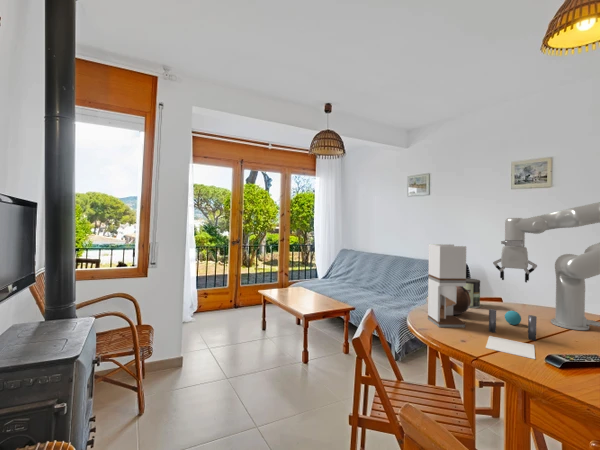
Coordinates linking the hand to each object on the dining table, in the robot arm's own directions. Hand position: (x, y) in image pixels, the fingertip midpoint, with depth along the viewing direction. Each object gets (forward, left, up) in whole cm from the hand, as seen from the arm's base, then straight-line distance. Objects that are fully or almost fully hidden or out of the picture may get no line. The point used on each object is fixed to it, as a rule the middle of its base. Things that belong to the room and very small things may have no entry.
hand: (514, 280), depth 139 cm
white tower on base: (+24, +27, -18) cm, 40 cm away
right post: (-6, +26, -18) cm, 32 cm away
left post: (+7, +26, -18) cm, 32 cm away
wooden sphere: (+24, +10, -18) cm, 32 cm away
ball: (0, +10, -15) cm, 18 cm away
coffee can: (+20, -12, -18) cm, 30 cm away
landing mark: (0, +40, -18) cm, 44 cm away
